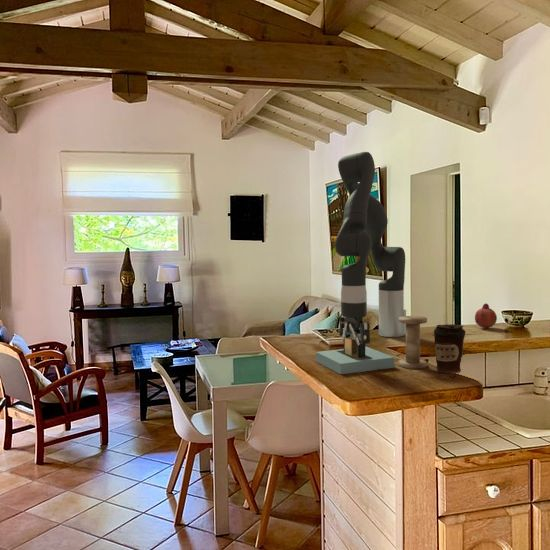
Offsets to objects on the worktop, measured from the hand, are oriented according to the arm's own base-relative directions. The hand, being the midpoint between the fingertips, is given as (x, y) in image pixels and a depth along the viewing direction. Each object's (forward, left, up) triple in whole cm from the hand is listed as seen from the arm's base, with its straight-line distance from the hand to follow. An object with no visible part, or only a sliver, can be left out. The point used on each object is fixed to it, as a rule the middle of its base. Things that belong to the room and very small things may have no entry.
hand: (354, 354), depth 160 cm
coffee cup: (-20, +18, -3) cm, 27 cm away
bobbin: (-15, +8, -3) cm, 17 cm away
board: (0, 0, -3) cm, 3 cm away
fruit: (-74, -28, -3) cm, 79 cm away
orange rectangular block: (0, 0, -3) cm, 3 cm away
